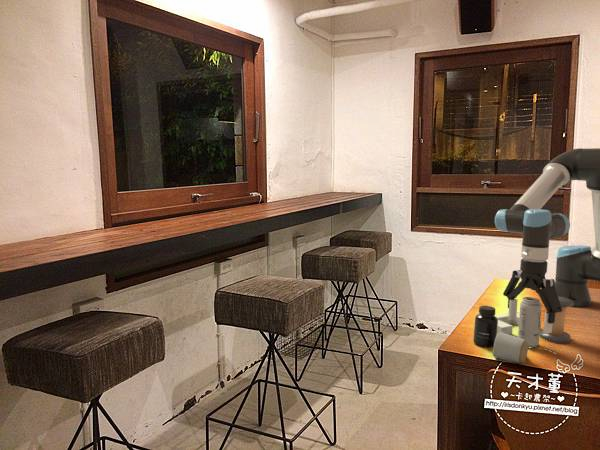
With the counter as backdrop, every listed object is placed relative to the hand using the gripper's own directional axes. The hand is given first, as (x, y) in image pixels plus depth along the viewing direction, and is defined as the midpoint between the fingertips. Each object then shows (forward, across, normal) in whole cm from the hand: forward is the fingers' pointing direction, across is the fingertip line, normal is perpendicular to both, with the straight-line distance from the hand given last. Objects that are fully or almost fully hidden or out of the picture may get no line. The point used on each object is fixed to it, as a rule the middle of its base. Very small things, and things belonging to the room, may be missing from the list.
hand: (529, 325), depth 156 cm
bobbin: (+6, -1, +13) cm, 15 cm away
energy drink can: (+7, 0, 0) cm, 7 cm away
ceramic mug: (+7, +6, -13) cm, 16 cm away
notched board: (+6, -14, +7) cm, 17 cm away
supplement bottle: (+7, -6, -12) cm, 15 cm away
